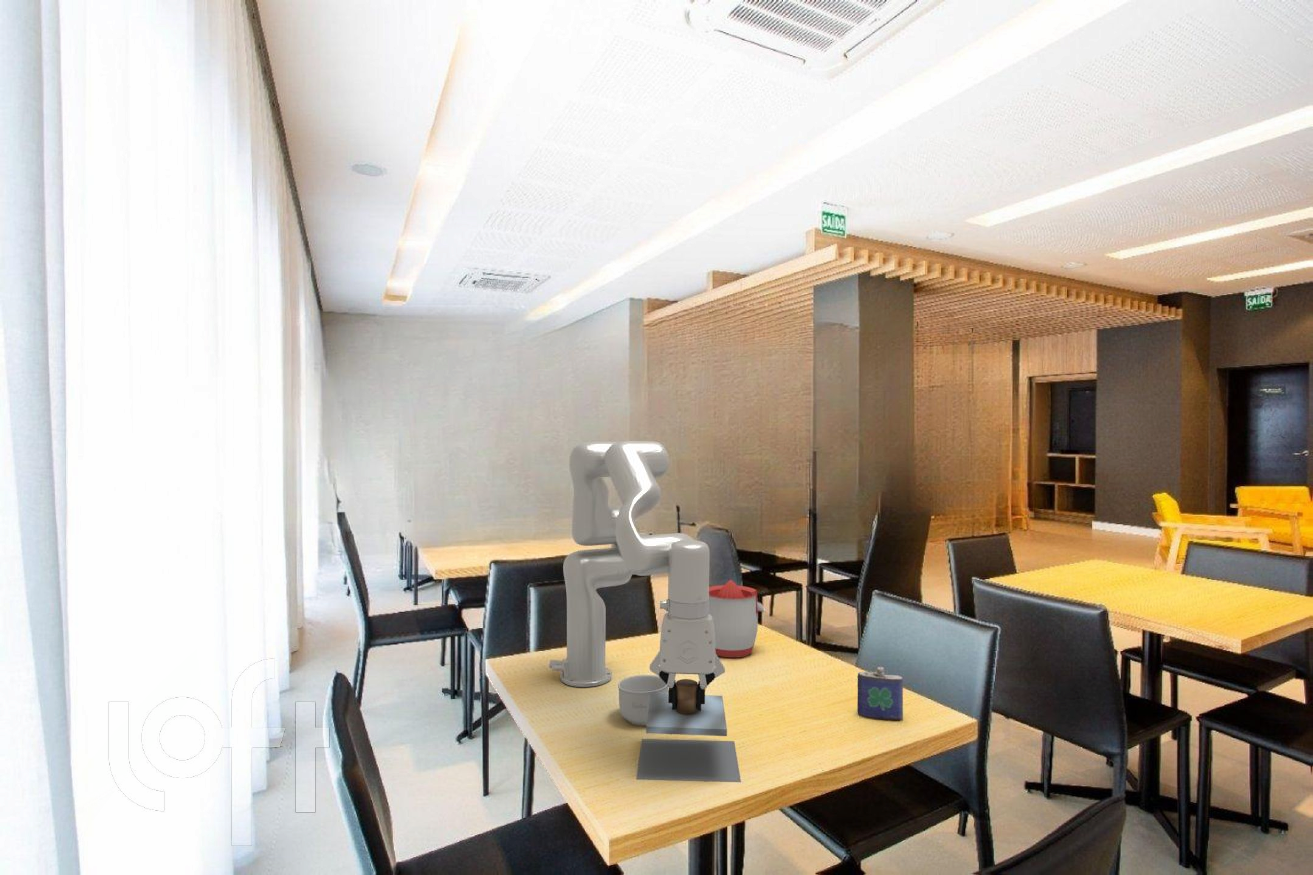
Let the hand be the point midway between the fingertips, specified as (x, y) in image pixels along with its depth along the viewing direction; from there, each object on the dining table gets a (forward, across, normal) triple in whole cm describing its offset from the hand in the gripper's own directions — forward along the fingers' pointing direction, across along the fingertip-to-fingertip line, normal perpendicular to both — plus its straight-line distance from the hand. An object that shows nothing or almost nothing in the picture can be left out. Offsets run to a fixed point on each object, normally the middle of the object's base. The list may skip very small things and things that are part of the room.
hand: (686, 706), depth 119 cm
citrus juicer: (+11, +14, +61) cm, 64 cm away
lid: (+2, 0, 0) cm, 2 cm away
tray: (+10, 0, -1) cm, 10 cm away
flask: (+10, +42, +20) cm, 47 cm away
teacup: (+11, -8, +17) cm, 22 cm away
